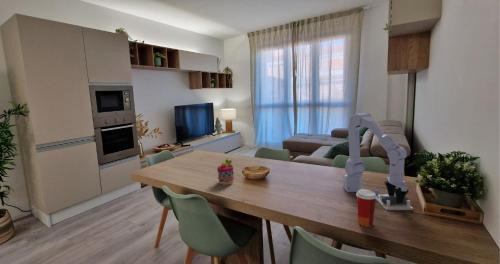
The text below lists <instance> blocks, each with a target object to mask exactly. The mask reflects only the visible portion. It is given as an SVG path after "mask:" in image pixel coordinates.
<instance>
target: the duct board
mask: <svg viewBox="0 0 500 264" xmlns="http://www.w3.org/2000/svg"><path fill="white" fill-rule="evenodd" d="M374 193H375V194H376V196H377V197H376V199H375V201H377V202H378V203H379V205H381V206H382V208H384V209H385V211H414V207H413V206H411V200H410V199H408V200H407V202H406V204H390V200H387V204H384V203H383V202H382V198H383V197H386V196H389V195H388V193H387V194H386V193H385V194H382V193H381V194H379V190H378V189H375V190H374ZM394 196H396V194H395V193H394Z"/></svg>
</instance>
